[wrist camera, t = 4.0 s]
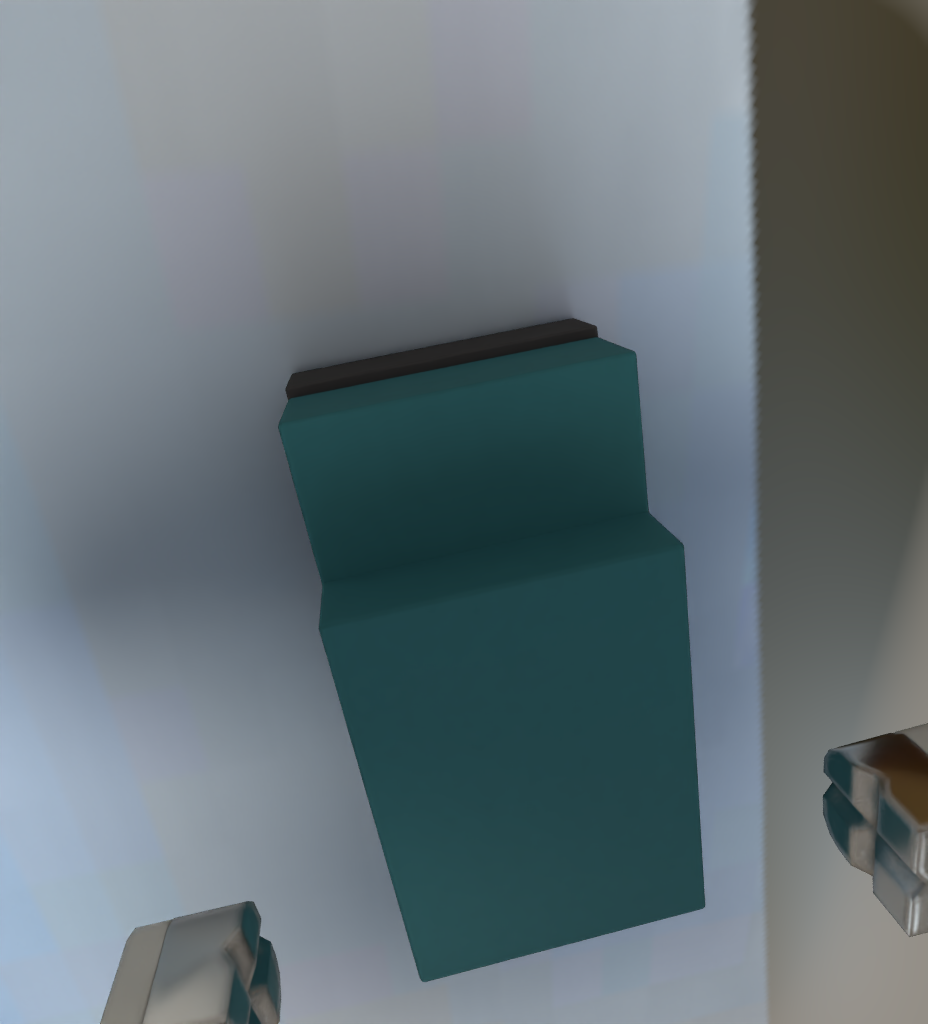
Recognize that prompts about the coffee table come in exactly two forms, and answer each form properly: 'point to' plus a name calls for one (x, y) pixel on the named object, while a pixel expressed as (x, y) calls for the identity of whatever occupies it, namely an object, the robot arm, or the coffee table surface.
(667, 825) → the teal stepped block
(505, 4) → the coffee table surface
